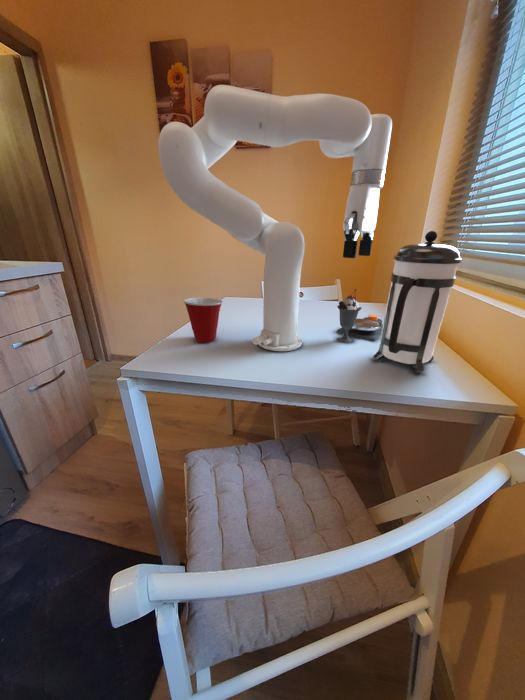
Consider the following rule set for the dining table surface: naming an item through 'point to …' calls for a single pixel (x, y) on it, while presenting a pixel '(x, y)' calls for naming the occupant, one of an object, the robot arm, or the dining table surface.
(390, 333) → the coffee press
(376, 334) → the scale
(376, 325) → the pan
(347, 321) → the sundae
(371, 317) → the tare button
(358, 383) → the dining table surface
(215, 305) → the plastic cup
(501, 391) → the dining table surface
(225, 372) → the dining table surface
